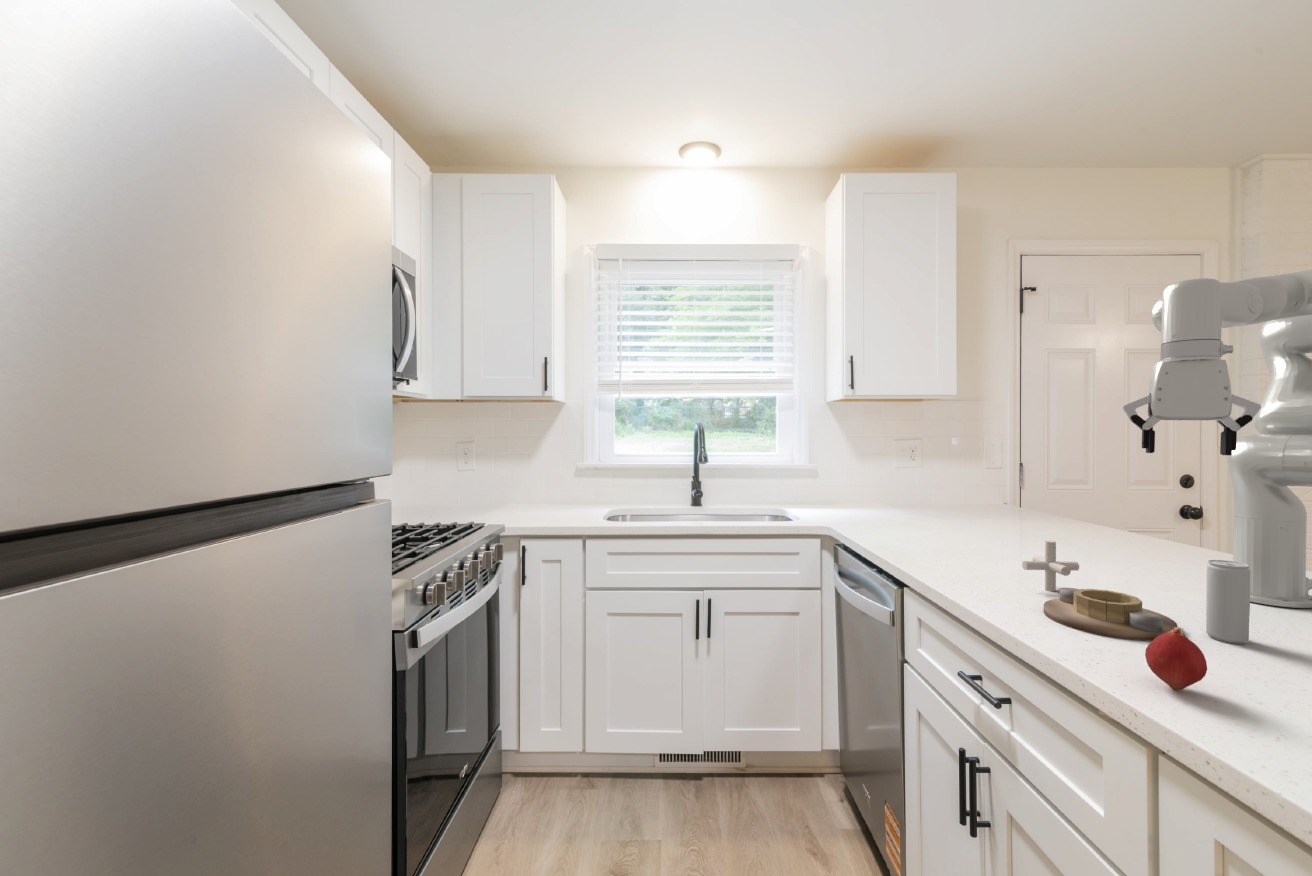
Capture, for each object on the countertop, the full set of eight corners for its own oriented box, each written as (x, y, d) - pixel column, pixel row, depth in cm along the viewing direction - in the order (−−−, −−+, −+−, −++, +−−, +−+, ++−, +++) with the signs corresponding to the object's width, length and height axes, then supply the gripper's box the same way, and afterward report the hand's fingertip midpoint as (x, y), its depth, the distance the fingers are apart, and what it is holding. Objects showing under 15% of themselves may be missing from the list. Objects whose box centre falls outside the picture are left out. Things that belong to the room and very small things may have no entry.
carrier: (1107, 602, 108) (1107, 580, 108) (1209, 637, 90) (1209, 611, 90) (1019, 606, 106) (1019, 584, 106) (1105, 642, 88) (1106, 616, 88)
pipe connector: (1061, 583, 121) (1061, 536, 121) (1092, 597, 111) (1092, 546, 111) (1011, 582, 122) (1011, 536, 122) (1038, 596, 112) (1038, 546, 112)
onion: (1133, 680, 75) (1133, 620, 75) (1173, 678, 76) (1173, 618, 75) (1177, 701, 69) (1177, 636, 69) (1220, 698, 70) (1220, 634, 70)
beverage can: (1237, 635, 90) (1237, 560, 90) (1257, 646, 86) (1258, 568, 86) (1199, 632, 92) (1199, 558, 92) (1217, 643, 88) (1218, 565, 87)
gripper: (1253, 354, 95) (1250, 455, 95) (1121, 359, 105) (1118, 452, 105) (1270, 347, 89) (1267, 456, 89) (1128, 353, 98) (1125, 452, 98)
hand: (1186, 454), depth 97 cm, fingers open, 9 cm apart
